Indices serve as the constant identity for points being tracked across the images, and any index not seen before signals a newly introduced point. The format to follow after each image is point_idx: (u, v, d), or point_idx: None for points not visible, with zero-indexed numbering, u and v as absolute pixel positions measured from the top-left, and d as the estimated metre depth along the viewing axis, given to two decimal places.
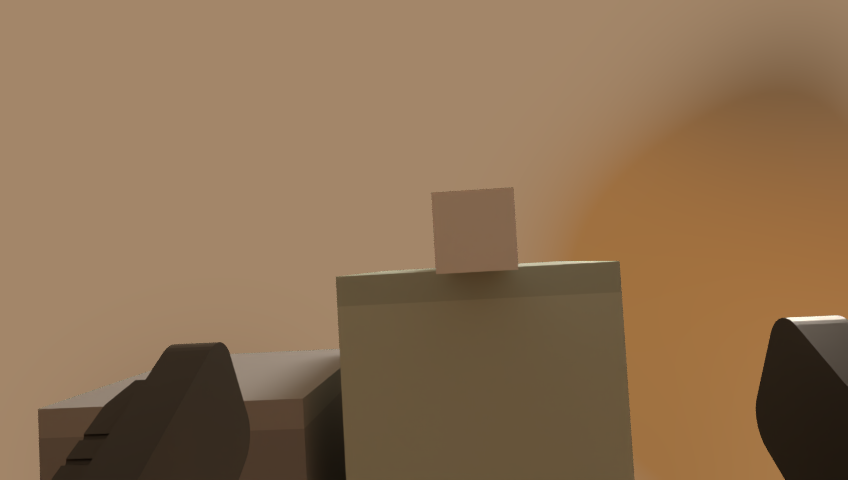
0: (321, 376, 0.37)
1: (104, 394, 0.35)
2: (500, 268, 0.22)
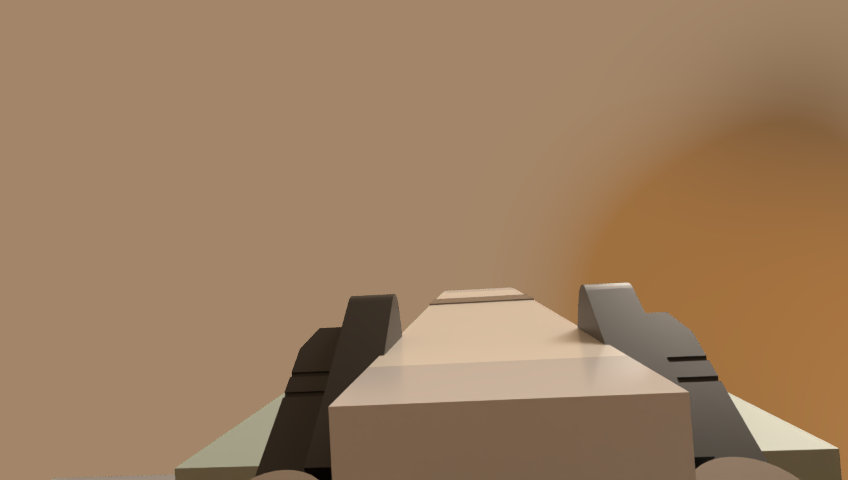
0: None
1: None
2: None
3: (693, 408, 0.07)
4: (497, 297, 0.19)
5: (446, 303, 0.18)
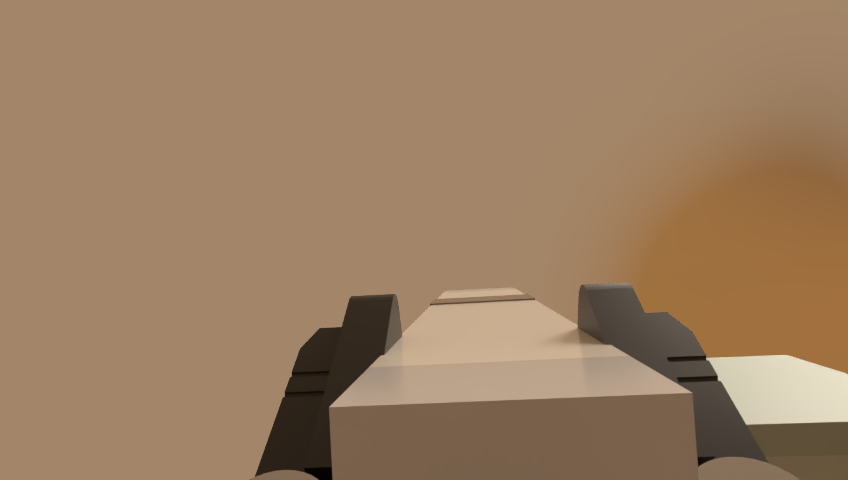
0: None
1: None
2: None
3: None
4: (498, 297, 0.19)
5: (447, 303, 0.18)
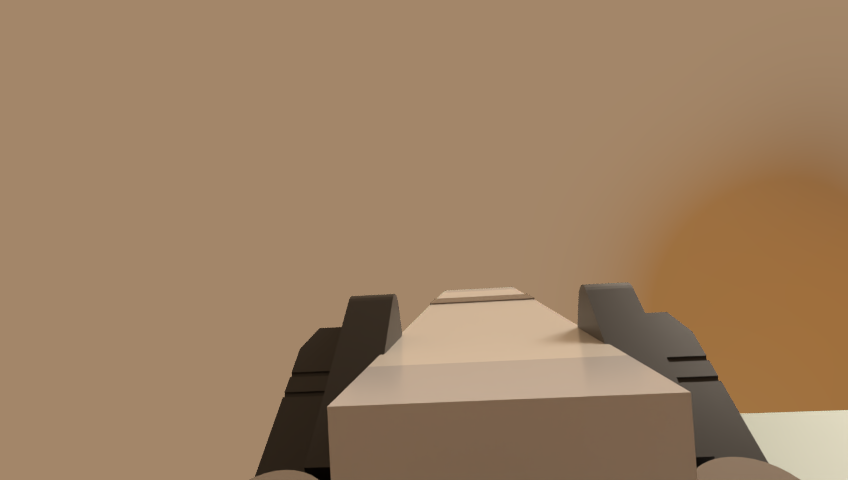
0: None
1: None
2: None
3: (693, 408, 0.07)
4: (498, 297, 0.19)
5: (446, 303, 0.18)
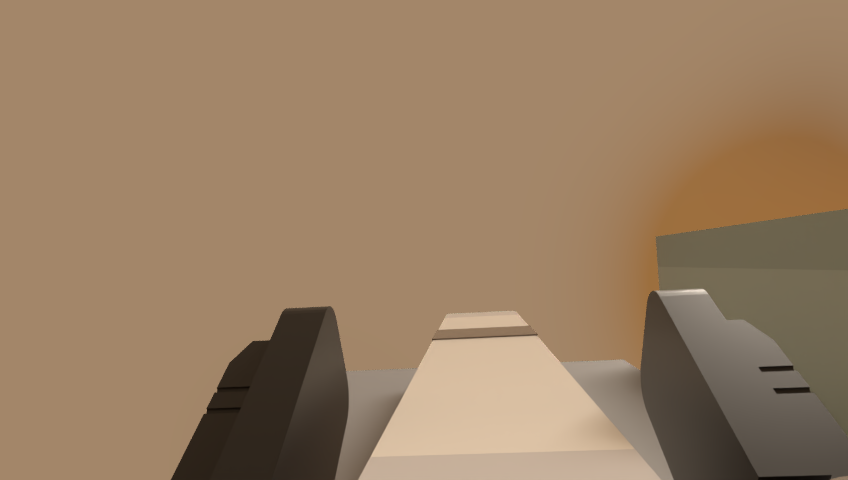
0: None
1: None
2: None
3: None
4: (500, 330, 0.19)
5: (449, 338, 0.18)
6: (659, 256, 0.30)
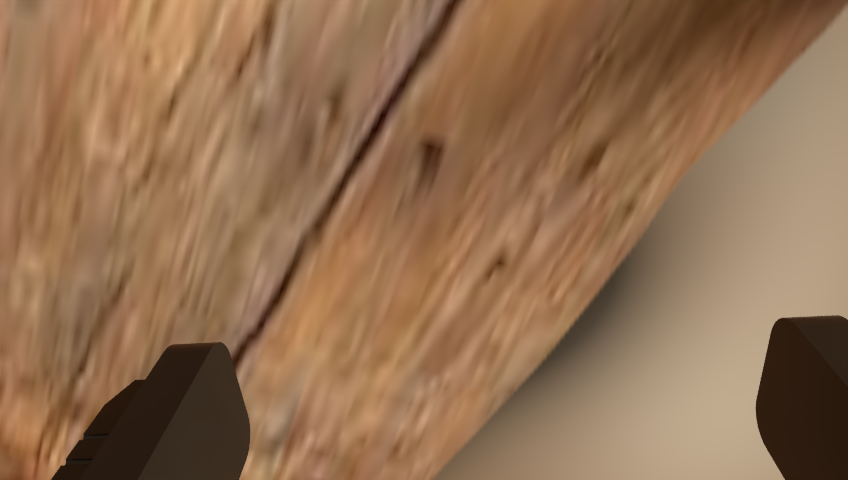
0: None
1: None
2: None
3: None
4: None
5: None
6: None
